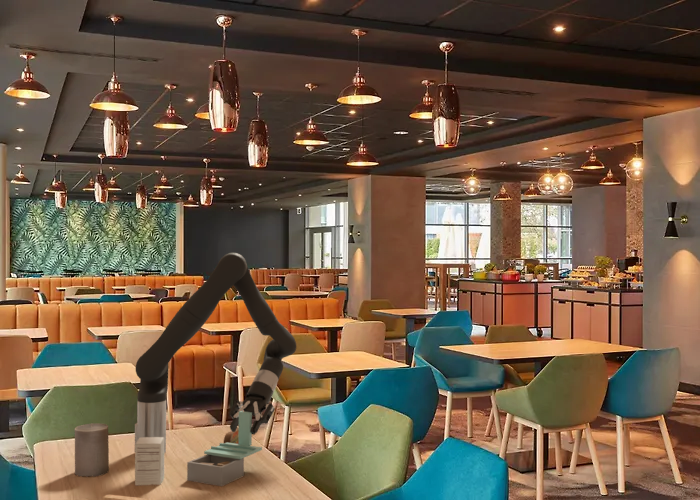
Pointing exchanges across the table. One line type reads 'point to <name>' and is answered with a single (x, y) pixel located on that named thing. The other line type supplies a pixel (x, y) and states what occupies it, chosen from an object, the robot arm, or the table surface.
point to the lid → (244, 441)
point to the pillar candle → (91, 449)
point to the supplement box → (149, 461)
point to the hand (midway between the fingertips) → (242, 431)
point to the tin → (232, 437)
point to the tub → (214, 470)
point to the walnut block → (223, 463)
